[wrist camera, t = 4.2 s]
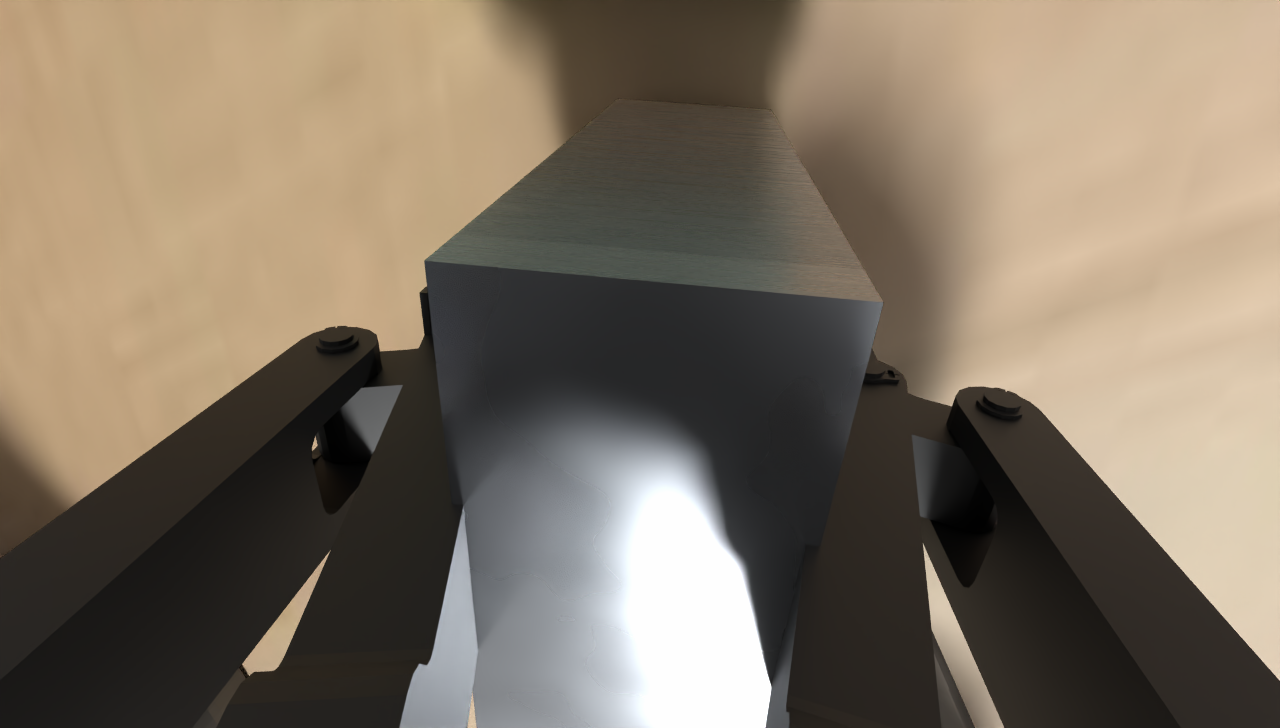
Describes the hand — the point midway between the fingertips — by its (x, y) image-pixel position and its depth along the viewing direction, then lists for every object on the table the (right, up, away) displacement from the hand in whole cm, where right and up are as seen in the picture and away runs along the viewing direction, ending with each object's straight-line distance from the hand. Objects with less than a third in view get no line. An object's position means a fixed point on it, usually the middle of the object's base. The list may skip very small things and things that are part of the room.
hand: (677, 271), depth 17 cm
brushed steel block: (0, +1, +2) cm, 2 cm away
